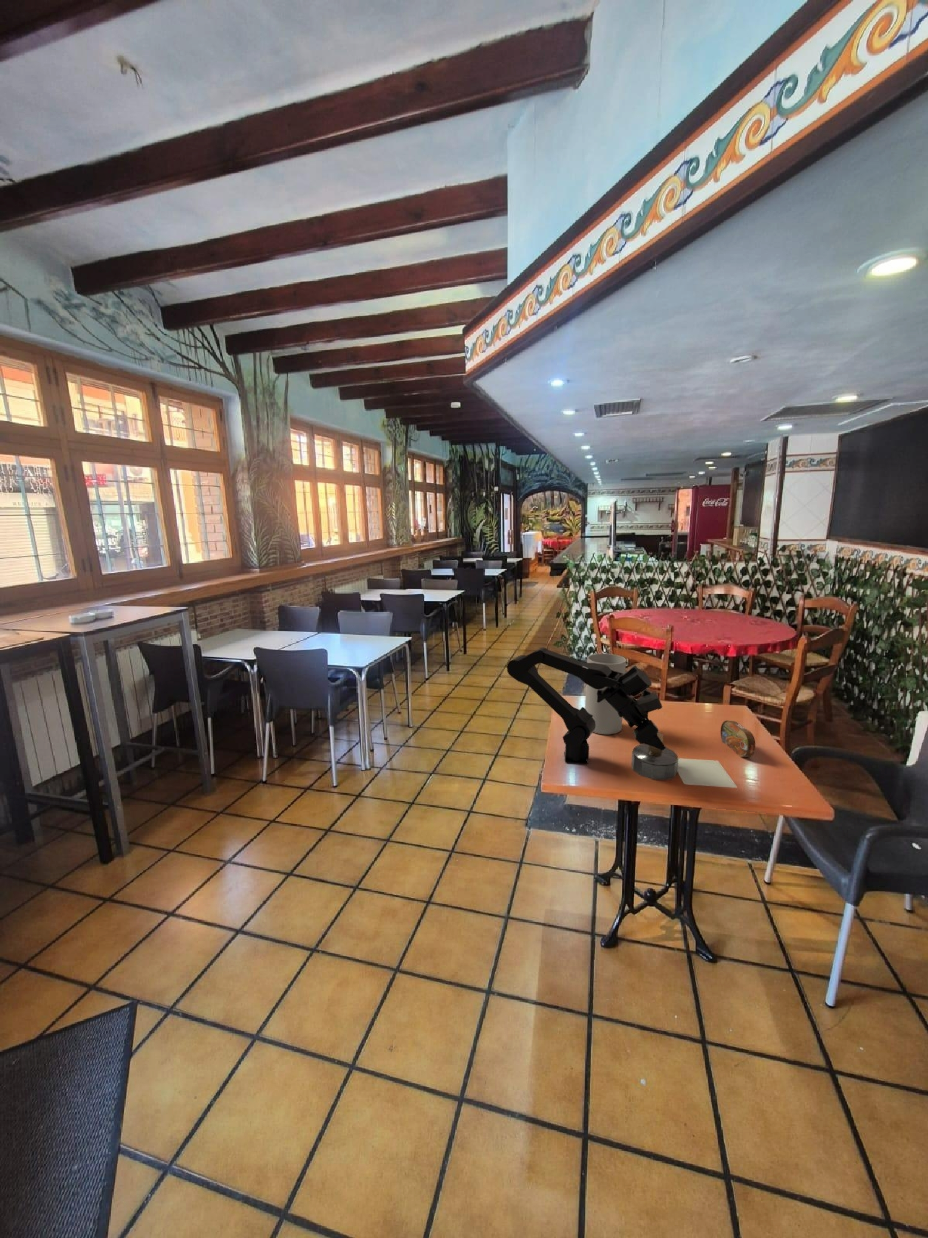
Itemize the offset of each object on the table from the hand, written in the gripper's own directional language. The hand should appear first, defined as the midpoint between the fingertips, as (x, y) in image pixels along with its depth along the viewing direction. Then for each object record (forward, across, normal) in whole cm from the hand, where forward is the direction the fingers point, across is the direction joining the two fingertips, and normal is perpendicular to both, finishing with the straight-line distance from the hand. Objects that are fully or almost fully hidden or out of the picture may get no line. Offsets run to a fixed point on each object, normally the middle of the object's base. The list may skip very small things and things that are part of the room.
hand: (660, 741), depth 140 cm
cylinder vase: (-2, +28, +15) cm, 32 cm away
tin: (+26, +16, -12) cm, 33 cm away
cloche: (+6, 0, +7) cm, 9 cm away
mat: (+15, 0, -2) cm, 15 cm away
